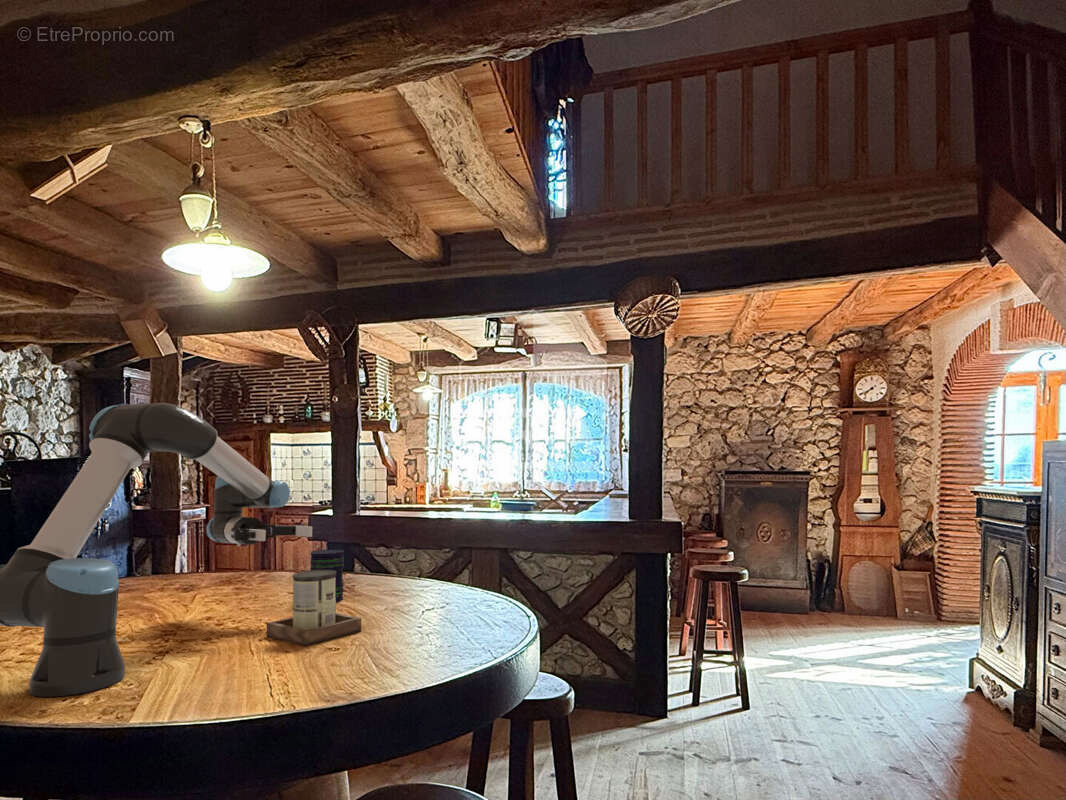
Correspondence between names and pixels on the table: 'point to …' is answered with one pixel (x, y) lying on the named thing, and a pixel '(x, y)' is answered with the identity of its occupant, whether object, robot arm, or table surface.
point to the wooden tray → (313, 630)
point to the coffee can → (314, 599)
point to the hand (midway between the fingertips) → (288, 533)
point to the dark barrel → (330, 566)
